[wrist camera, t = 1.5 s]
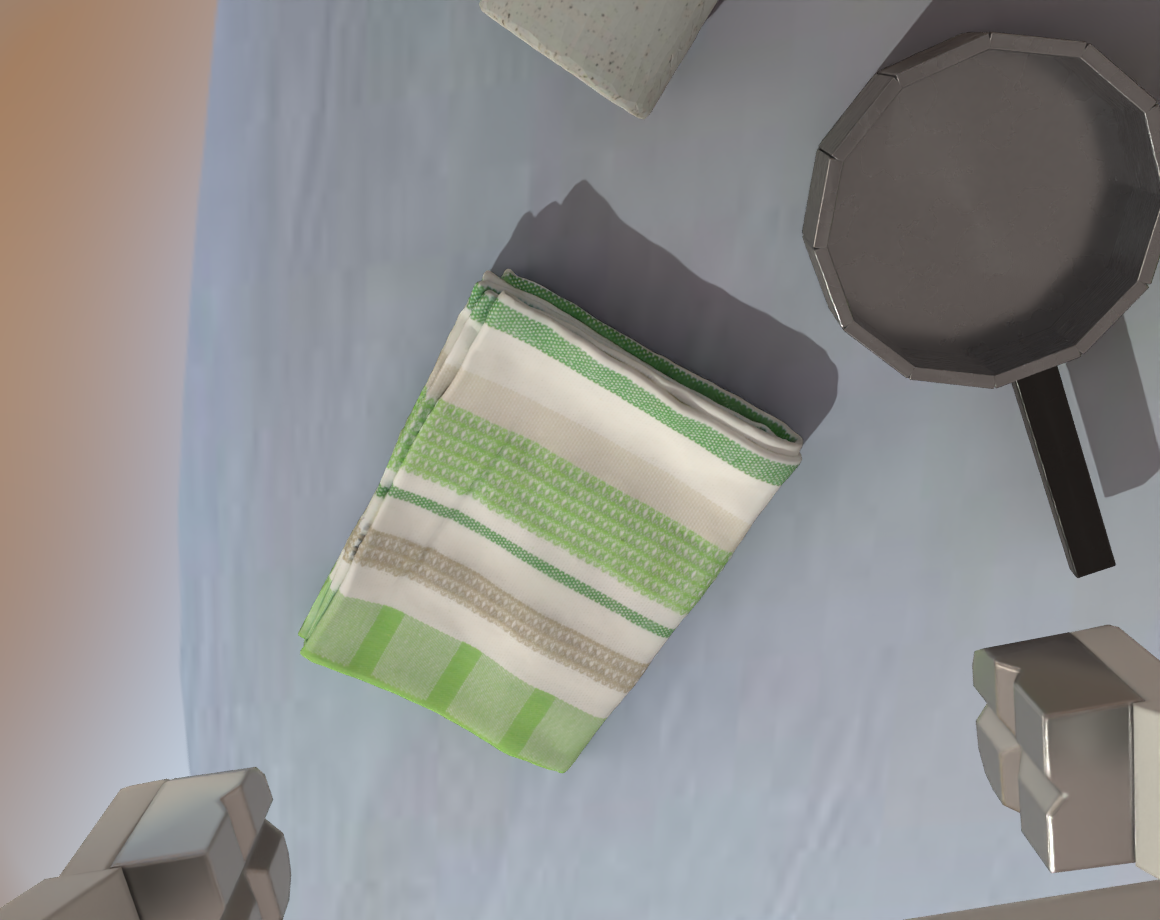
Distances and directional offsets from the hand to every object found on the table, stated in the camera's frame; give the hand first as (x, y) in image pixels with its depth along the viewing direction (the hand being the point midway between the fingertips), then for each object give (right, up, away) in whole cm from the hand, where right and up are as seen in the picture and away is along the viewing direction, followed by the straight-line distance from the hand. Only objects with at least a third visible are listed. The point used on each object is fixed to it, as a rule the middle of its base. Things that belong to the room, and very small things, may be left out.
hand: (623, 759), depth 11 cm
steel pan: (+19, +10, +34) cm, 40 cm away
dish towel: (-3, 0, +40) cm, 40 cm away
